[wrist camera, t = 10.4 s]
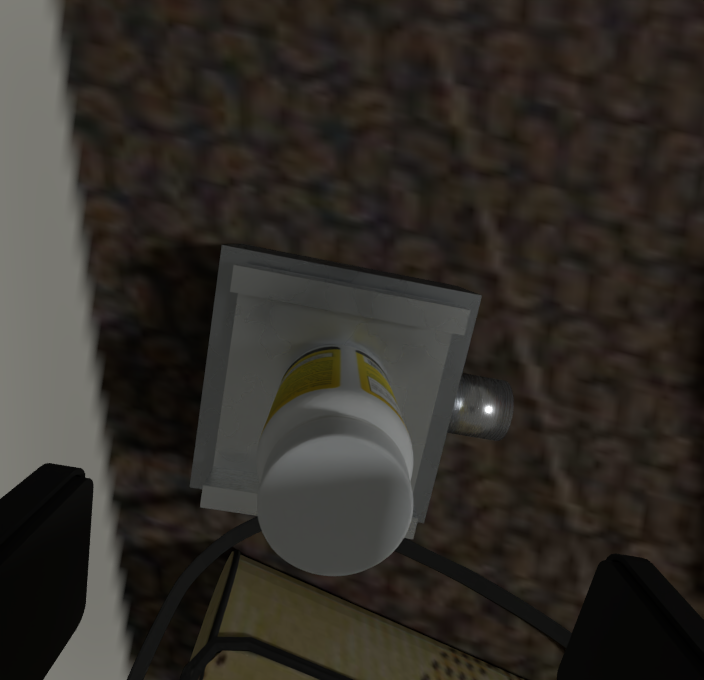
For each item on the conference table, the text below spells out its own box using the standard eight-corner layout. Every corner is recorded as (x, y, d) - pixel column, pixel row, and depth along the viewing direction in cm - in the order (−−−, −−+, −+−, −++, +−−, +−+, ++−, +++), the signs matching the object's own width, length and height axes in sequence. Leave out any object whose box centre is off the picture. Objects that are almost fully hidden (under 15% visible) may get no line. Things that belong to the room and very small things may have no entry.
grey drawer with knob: (241, 243, 23) (207, 245, 17) (513, 297, 24) (573, 316, 18) (212, 447, 25) (173, 514, 19) (462, 487, 26) (499, 562, 20)
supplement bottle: (269, 433, 20) (220, 570, 12) (293, 330, 19) (259, 400, 11) (375, 457, 20) (400, 605, 12) (404, 357, 19) (453, 444, 11)
